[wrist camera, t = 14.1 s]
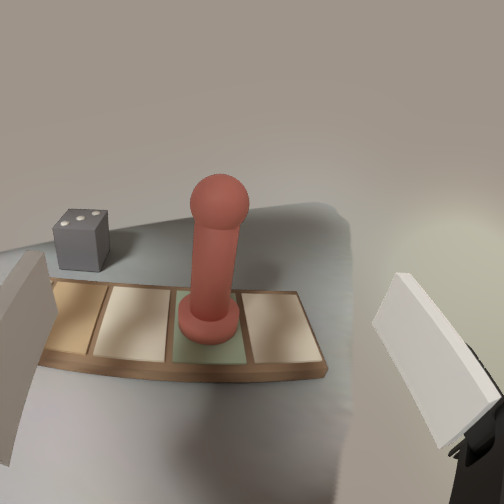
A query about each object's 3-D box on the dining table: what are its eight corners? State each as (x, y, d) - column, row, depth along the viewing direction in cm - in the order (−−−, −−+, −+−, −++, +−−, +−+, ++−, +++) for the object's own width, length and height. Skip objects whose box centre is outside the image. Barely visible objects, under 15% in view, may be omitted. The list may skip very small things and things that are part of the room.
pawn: (177, 343, 22) (181, 183, 17) (179, 303, 27) (186, 163, 21) (240, 345, 23) (267, 190, 18) (234, 306, 27) (255, 169, 22)
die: (59, 268, 30) (52, 227, 27) (73, 246, 34) (68, 208, 32) (99, 271, 31) (94, 229, 28) (110, 248, 35) (107, 209, 32)
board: (-26, 349, 17) (-32, 338, 17) (14, 282, 26) (11, 271, 25) (323, 377, 23) (328, 366, 23) (294, 300, 32) (297, 289, 31)
